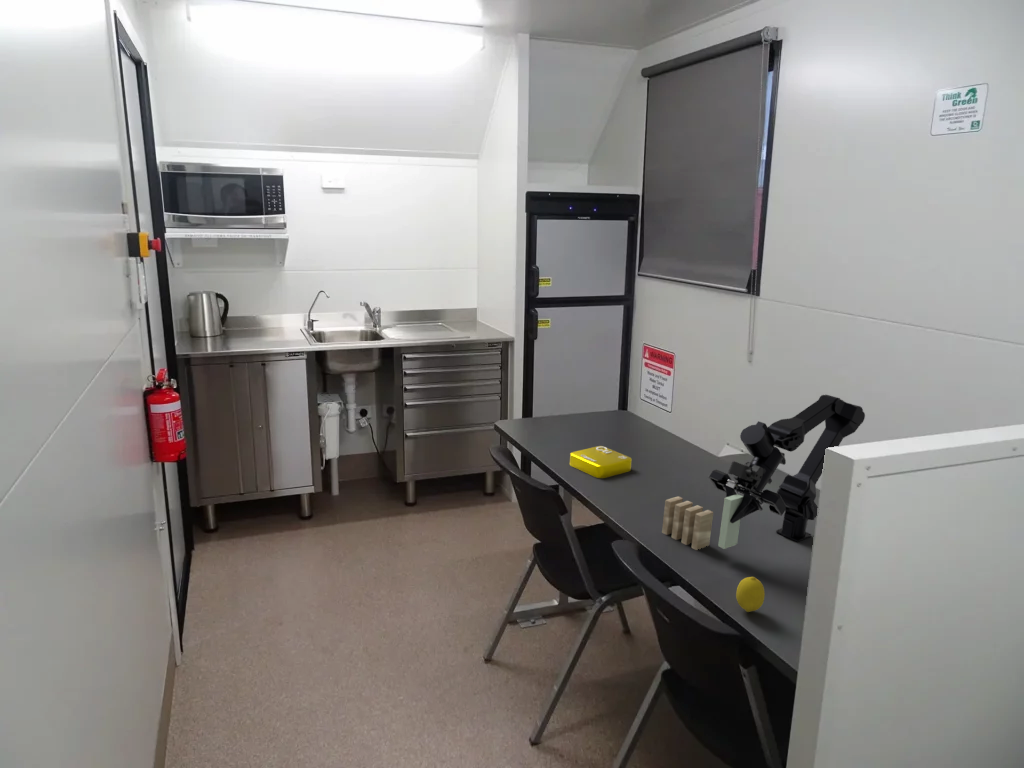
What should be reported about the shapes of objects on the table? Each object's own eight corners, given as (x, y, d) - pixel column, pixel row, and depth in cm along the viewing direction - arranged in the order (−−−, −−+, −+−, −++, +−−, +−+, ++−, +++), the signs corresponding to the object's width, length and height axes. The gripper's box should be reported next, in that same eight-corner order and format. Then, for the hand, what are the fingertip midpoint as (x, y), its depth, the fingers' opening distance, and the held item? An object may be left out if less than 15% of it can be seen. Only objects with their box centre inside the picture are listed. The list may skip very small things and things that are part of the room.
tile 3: (671, 537, 179) (675, 504, 177) (683, 533, 182) (687, 500, 179) (676, 539, 178) (680, 506, 175) (688, 535, 180) (692, 502, 178)
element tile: (566, 465, 226) (567, 451, 225) (600, 457, 235) (601, 443, 234) (599, 480, 215) (600, 465, 214) (633, 471, 224) (634, 457, 223)
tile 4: (661, 532, 181) (665, 500, 179) (674, 528, 184) (678, 496, 182) (666, 534, 180) (670, 502, 178) (679, 530, 183) (682, 498, 181)
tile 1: (691, 547, 174) (695, 514, 172) (703, 543, 177) (708, 509, 175) (696, 550, 173) (700, 516, 170) (709, 545, 176) (713, 512, 173)
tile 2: (681, 542, 176) (685, 509, 174) (693, 537, 179) (697, 505, 177) (686, 545, 175) (690, 511, 173) (698, 540, 178) (703, 507, 176)
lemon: (755, 604, 150) (761, 570, 148) (765, 619, 144) (771, 584, 142) (730, 603, 150) (735, 569, 148) (739, 618, 144) (744, 583, 142)
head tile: (718, 546, 167) (724, 497, 164) (730, 541, 170) (737, 493, 167) (724, 549, 166) (731, 500, 163) (737, 544, 169) (743, 496, 166)
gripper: (717, 437, 172) (682, 489, 168) (786, 461, 157) (749, 518, 154) (733, 462, 178) (700, 512, 175) (800, 487, 164) (766, 542, 160)
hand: (727, 520), depth 166 cm, fingers closed on head tile, 2 cm apart
